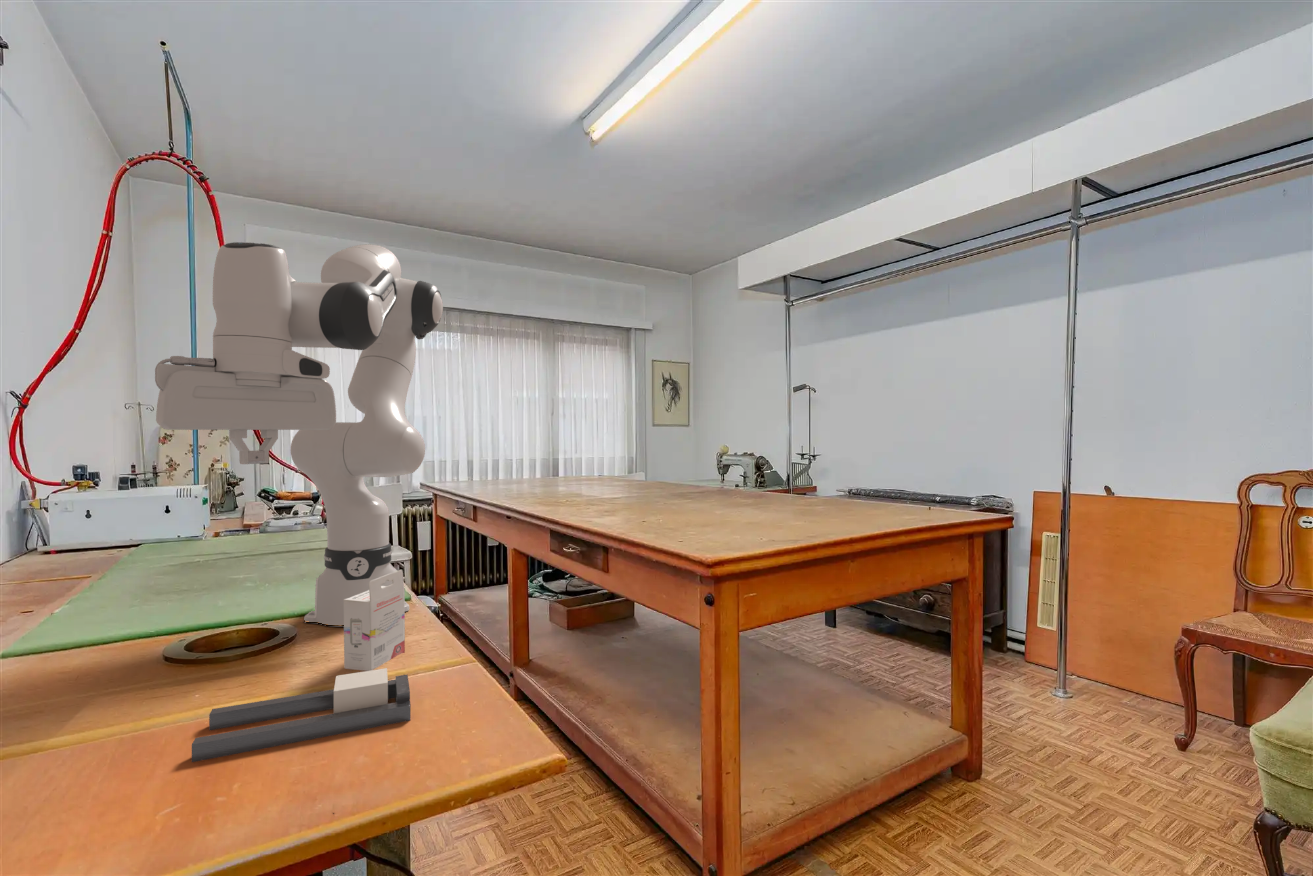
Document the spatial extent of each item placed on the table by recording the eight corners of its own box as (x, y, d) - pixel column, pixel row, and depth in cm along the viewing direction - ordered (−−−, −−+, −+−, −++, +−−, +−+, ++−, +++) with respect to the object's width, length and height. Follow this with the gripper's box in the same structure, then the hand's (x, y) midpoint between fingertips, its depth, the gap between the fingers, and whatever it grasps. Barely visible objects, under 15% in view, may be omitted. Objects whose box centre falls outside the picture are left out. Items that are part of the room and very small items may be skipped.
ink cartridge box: (379, 654, 97) (379, 566, 97) (405, 657, 96) (406, 568, 96) (341, 675, 89) (342, 579, 89) (370, 678, 88) (370, 581, 88)
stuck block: (335, 709, 76) (336, 675, 76) (386, 700, 78) (387, 668, 78) (333, 727, 71) (333, 691, 71) (387, 717, 74) (387, 682, 74)
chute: (212, 733, 72) (212, 701, 71) (406, 698, 81) (407, 670, 81) (191, 771, 63) (191, 735, 63) (410, 728, 73) (410, 696, 73)
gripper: (162, 352, 69) (163, 468, 69) (341, 367, 85) (341, 461, 85) (147, 355, 73) (148, 466, 73) (321, 369, 89) (322, 460, 89)
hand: (254, 463), depth 79 cm, fingers closed
